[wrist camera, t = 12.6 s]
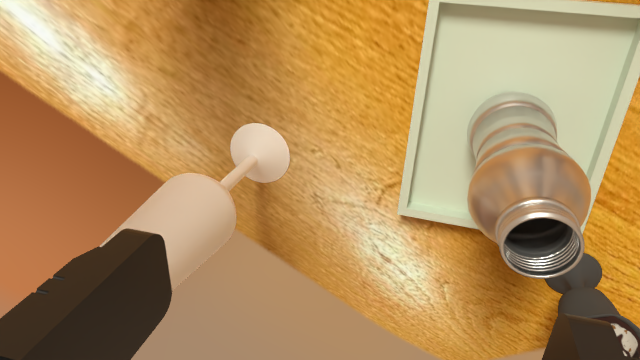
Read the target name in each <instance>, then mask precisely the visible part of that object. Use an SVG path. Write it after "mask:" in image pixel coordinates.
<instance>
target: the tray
mask: <svg viewBox="0 0 640 360" xmlns="http://www.w3.org/2000/svg"><path fill="white" fill-rule="evenodd" d="M639 76H640V5H638V4H625V3H612V2H598V1H585V0H429V5H428V12H427V18H426V25H425V32H424V38H423V45H422V52H421V58H420V65H419V72H418V78H417V85H416V92H415V98H414V105H413V112H412V118H411V125H410V132H409V138H408V145H407V152H406V158H405V165H404V172H403V178H402V185H401V192H400V198H399V205H398V211H397V214H398V215H404V216H409V217H415V218H420V219H425V220H431V221H436V222H442V223H447V224H453V225H458V226H463V227H469V228H474V229H479V228H478V226H477V225H476V224H475V222H474V220H473V219H472V217H471V215H470V212H469V209H468V203H467V196H468V189H469V183H470V181H471V178H472V175H473V173H474V170H475V166H476V159H475V157H474V155H473V154H472V152H471V149H470V146H469V144H468V139H467V129H468V125H469V122H470V119H471V118H472V116H473V114H474V113H475V111H476V110H477V108H478V107H479V106H480V105H481V104H482V103H483V102H485V101H486V100H487V99H489V98H491V97H493V96H494V95H497V94H500V93H504V92H510V91H516V92H524V93H528V94H530V95H533V96H535V97H537V98H539V99H540V100H542V101H543V102H545V103H546V104H547V105H548V106H549V107H550V109H551V110H552V112H553V114H554V116H555V119H556V122H557V143H558V144H559V146H560V147H561V149H563V150H564V151H565V152H566V153H567V154H568V155H569V156H571V157H572V158H573V159H574V160H575V161H576V162H577V163H578V165H579V166H580V167H581V168H582V170H583V171H584V173H585V175H586V176H587V178H588V180H589V184H590V187H591V202H590V206H589V210H588V214H587V217H586V219H585V221H584V223H583V225H582V226H581V227H580V228H581V233H582V234H583V231H584V228H585V225H586V222H587V220H588V217H589V214H590V211H591V209H592V206H593V203H594V200H595V198H596V195H597V192H598V189H599V186H600V184H601V181H602V178H603V175H604V173H605V170H606V167H607V164H608V161H609V159H610V156H611V153H612V150H613V148H614V145H615V142H616V139H617V137H618V134H619V131H620V128H621V125H622V123H623V120H624V117H625V114H626V112H627V109H628V106H629V103H630V101H631V98H632V95H633V92H634V89H635V87H636V84H637V81H638V78H639Z"/></svg>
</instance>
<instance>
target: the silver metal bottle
mask: <svg viewBox="0 0 640 360" xmlns="http://www.w3.org/2000/svg"><path fill="white" fill-rule="evenodd" d="M467 139H468V144H469V146H470V149H471V152H472V154H473V155H474V157H475V159H476V166H475V170H474V173H473V175H472V178H471V181H470V183H469V189H468V196H467V203H468V209H469V212H470V215H471V217H472V219H473V220H474V222H475V224H476V225H477V226H478V228H479V229H480V231H481V232H482V233H483V234H484V235H485V236H486V237H488V238H489V239H491V240H492V241H494V242H495V243H497V244H498V246H499V249H500V253H501V256H502V258H503V260H504V261H505V263H506V264H507V265H508V266H509V267H510V268H511V269H512V270H514V271H515V272H517V273H519V274H521V275H523V276H527V277H530V278H538V279H543V278H552V277H557V276H560V275H563V274H564V273H566V272H568V271H570V270H571V269H572V268H574V267H575V266H576V265H577V264H578V263H579V261H580V260H581V258H582V256H583V252H584V239H583V235H582V233H581V228H580V227H581V226H582V225H583V223H584V221H585V219H586V217H587V214H588V210H589V206H590V202H591V187H590V184H589V180H588V178H587V176H586V175H585V173H584V171H583V170H582V168H581V167H580V166H579V165H578V163H577V162H576V161H575V160H574V159H573V158H572V157H571V156H569V155H568V154H567V153H566V152H565V151H564V150H563V149H561V147H560V146H559V144H558V143H557V122H556V119H555V116H554V114H553V112H552V110H551V109H550V107H549V106H548V105H547V104H546V103H545V102H543V101H542V100H540V99H539V98H537V97H535V96H533V95H530V94H528V93H524V92H516V91H510V92H504V93H500V94H497V95H494V96H493V97H491V98H489V99H487V100H486V101H485V102H483V103H482V104H481V105H480V106H479V107H478V108H477V110H476V111H475V113H474V114H473V116H472V118H471V119H470V122H469V125H468V129H467Z"/></svg>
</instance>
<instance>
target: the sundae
mask: <svg viewBox="0 0 640 360" xmlns="http://www.w3.org/2000/svg"><path fill="white" fill-rule="evenodd" d="M601 278H602V268H601V266H600V264H599V263H598V261H597V260H596V259H594V258H593V257H592V256H590V255H588V254H585V253H583V256H582V258H581V260H580V261H579V263H578V264H577V265H576V266H575V267H574V268H572V269H571V270H570V271H568V272H566V273H564V274H563V275H560V276H557V277H552V278H545V280H546V282H547V284H548V285H549V286H550V287H551V288H552V289H554V290H555V291H557V292H559V293H562V294H563V295H562V297H561V298H560V300H559V306H558V316H559V315H560V314H561V313H565V314H570V315H575V316H581V317H586V318H591V319H596V320H601V321H606V322H609V323H610V324H611V325H612V327H613V329H614V331H615V333H616V336H617V338H618V341H619V343H620V345H621V348H622V350H623V353H624V355H625V356H628V357H633V358H638V359H640V329H639V328H638V327H637V326H636V325H635V324H633V323H632V322H631V321H630V320H628V319H626V318H625V317H623V316H621V315H620V314H619V312H618V311H617V309H616V308H615V307H614V305H613V304H612V302H611V301H610V300H609V299H608V298H607V297H606V296H605V295H604V294H603V293H602V292H601V291H599V290H597V289H594V288H595V287H596V286H597V285H598V283H599V282H600V280H601Z"/></svg>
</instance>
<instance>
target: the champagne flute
mask: <svg viewBox="0 0 640 360" xmlns="http://www.w3.org/2000/svg"><path fill="white" fill-rule="evenodd" d="M230 151H231V156H232V159H233V162H234V164H235V165H236V168H235V169H234V170H232V171H231V172H230V173H229V174H228V175H227V176H226V177H225V178H223V179H222V180H221V181H220V182H218V181H217V180H215V179H213V178H211V177H209V176H206V175H203V174H197V173H184V174H180V175H177V176H174V177H172V178H171V179H169V180H168V181H167V182H166V183H165V184H163V185H162V186H161V187H160V188H159V189H158V191H156V192H155V193H154V194H153V195H152V196H151V197H150V198H149V199H148V200H147V201H146V202H145V203H144V204H143V205H142V206H141V207H140V208H139V209H138V210H137V211H136V212H134V213H133V214H132V215H131V216H130V217H129V218H128V219H127V220H126V221H125V222H124V223H123V224H122V225H121V226H120V227H119V228H118V229H117V230H116V231H115V232H114V233H113V234H112V235H111V236H110V237H109V238H108V239H107V240H106V241H104V242H103V243H102V244H101V245H100V246H99V247H102V246H103V245H105V244H106V243H107V242H108V241H109V240H110V239H112V238H113V237H114V236H115V235H116V234H118V233H119V232H120V231H121V230H123V229H127V228H129V229H134V230H140V231H145V232H150V233H155V234H159V235H161V236H162V237H163V239H164V242H165V247H166V254H167V260H168V267H169V274H170V280H171V287H172V291H173V290H174V289H175V288H176V287H177V286H178V285H179V284H181V282H183V281H184V280H185V279H186V278H187V277H188V276H189V275H191V274H192V273H193V272H194V271H195V270H196V269H197V268H198V267H199V266H201V265H202V264H203V263H204V262H205V261H206V260H207V259H208V258H209V257H210V256H212V255H213V254H214V253H215V252H216V251H217V250H218V249H219V248H221V247H222V246H223V245H224V244H225V243H226V242H227V241H228V240H229V239H230V237H231V236H232V234H233V232H234V229H235V226H236V208H235V204H234V201H233V199H232V197H231V195H230V193H229V191H230V190H231V189H232V188H233V187H234V186H235V185H236V184H237V183H238V182H239V181H240V180H241V179H242V178H243V177H244V176H246V177H248V178H249V179H251V180H253V181H257V182H261V183H268V182H273V181H276V180H278V179H279V178H281V177H282V176H283V175H284V174H285V172H286V171H287V169H288V166H289V162H290V153H289V149H288V146H287V144H286V142H285V140H284V139H283V137H282V136H281V135H280V134H279V133H278V132H277V131H276V130H274V129H273V128H271V127H269V126H267V125H264V124H260V123H251V124H246V125H244V126H242V127H241V128H239V129H238V130H237V131H236V132H235V133H234V135H233V137H232V140H231V146H230Z"/></svg>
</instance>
